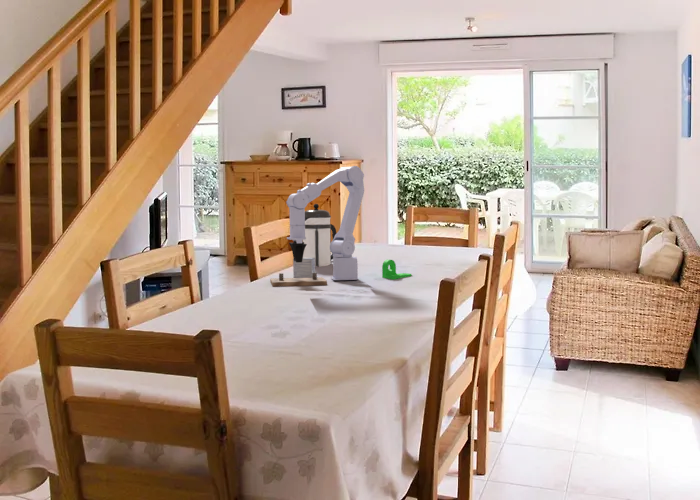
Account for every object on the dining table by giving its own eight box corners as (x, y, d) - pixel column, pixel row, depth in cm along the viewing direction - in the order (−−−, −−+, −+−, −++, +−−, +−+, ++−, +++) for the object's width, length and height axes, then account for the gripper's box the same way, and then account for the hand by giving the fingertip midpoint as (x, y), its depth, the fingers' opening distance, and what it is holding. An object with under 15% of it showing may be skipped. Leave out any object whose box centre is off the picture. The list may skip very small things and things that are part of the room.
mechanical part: (393, 281, 300) (392, 260, 299) (382, 280, 304) (382, 259, 304) (414, 279, 308) (414, 258, 307) (403, 278, 312) (403, 258, 312)
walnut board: (321, 281, 300) (321, 270, 300) (327, 285, 285) (326, 274, 285) (270, 282, 297) (270, 272, 297) (272, 286, 282) (272, 275, 282)
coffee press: (335, 273, 330) (335, 203, 328) (298, 274, 330) (297, 203, 328) (337, 270, 347) (336, 203, 345) (301, 270, 347) (300, 203, 346)
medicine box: (315, 279, 308) (315, 257, 308) (312, 280, 304) (311, 258, 304) (296, 278, 311) (296, 257, 310) (293, 279, 306) (292, 258, 306)
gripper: (285, 225, 296) (285, 260, 297) (288, 226, 282) (288, 263, 283) (303, 224, 297) (304, 260, 298) (307, 225, 283) (308, 262, 284)
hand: (297, 261), depth 291 cm, fingers open, 7 cm apart
